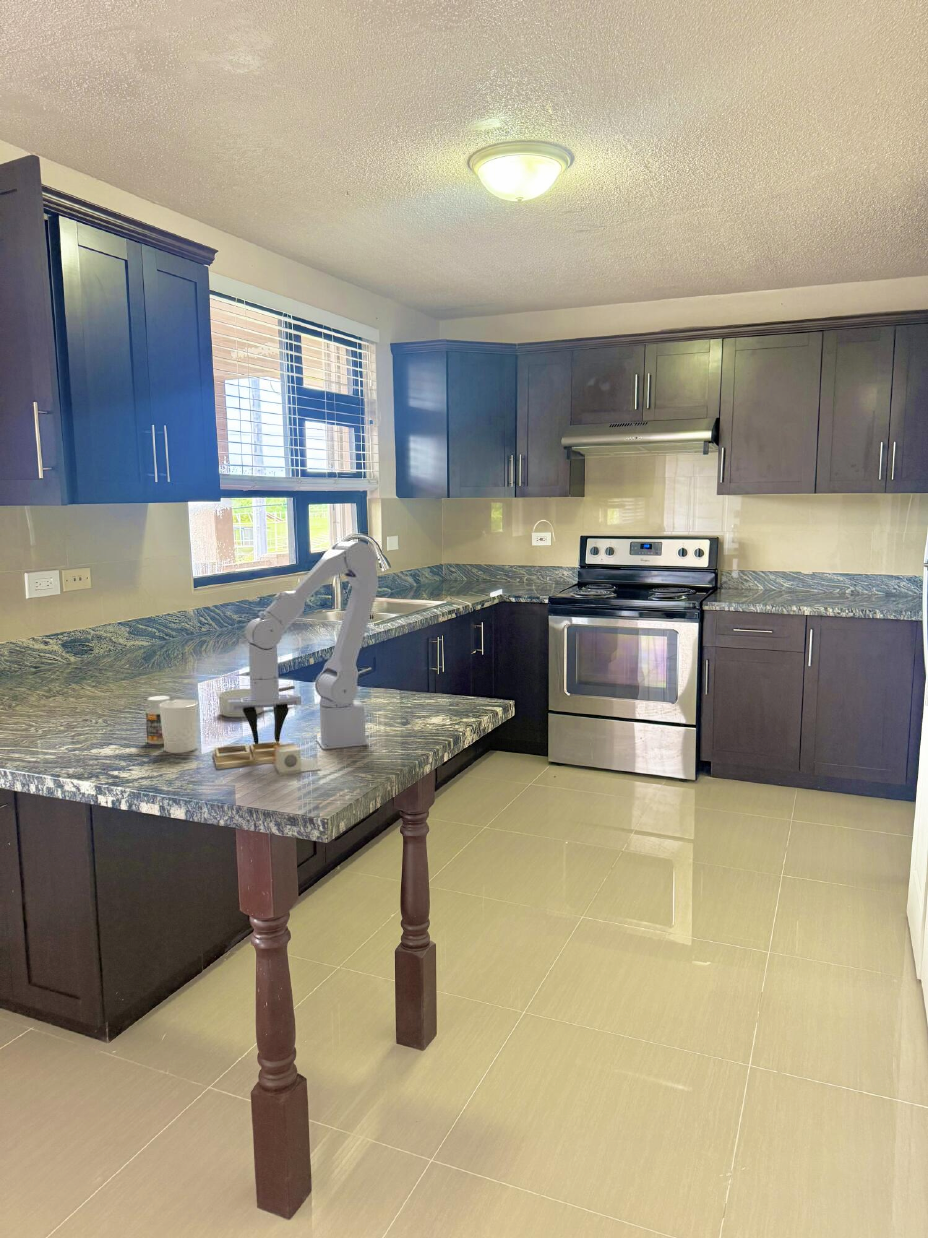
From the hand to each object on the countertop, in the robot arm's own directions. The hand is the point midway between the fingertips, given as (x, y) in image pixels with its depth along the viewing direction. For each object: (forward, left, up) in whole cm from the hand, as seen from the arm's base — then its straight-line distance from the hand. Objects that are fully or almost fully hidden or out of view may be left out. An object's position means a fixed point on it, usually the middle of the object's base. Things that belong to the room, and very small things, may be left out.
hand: (266, 741), depth 174 cm
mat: (-4, +10, -3) cm, 11 cm away
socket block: (+4, 0, -3) cm, 5 cm away
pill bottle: (+20, -21, -3) cm, 30 cm away
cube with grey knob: (-2, +8, -1) cm, 8 cm away
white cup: (+16, -13, -3) cm, 21 cm away
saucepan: (-3, -41, -3) cm, 42 cm away
